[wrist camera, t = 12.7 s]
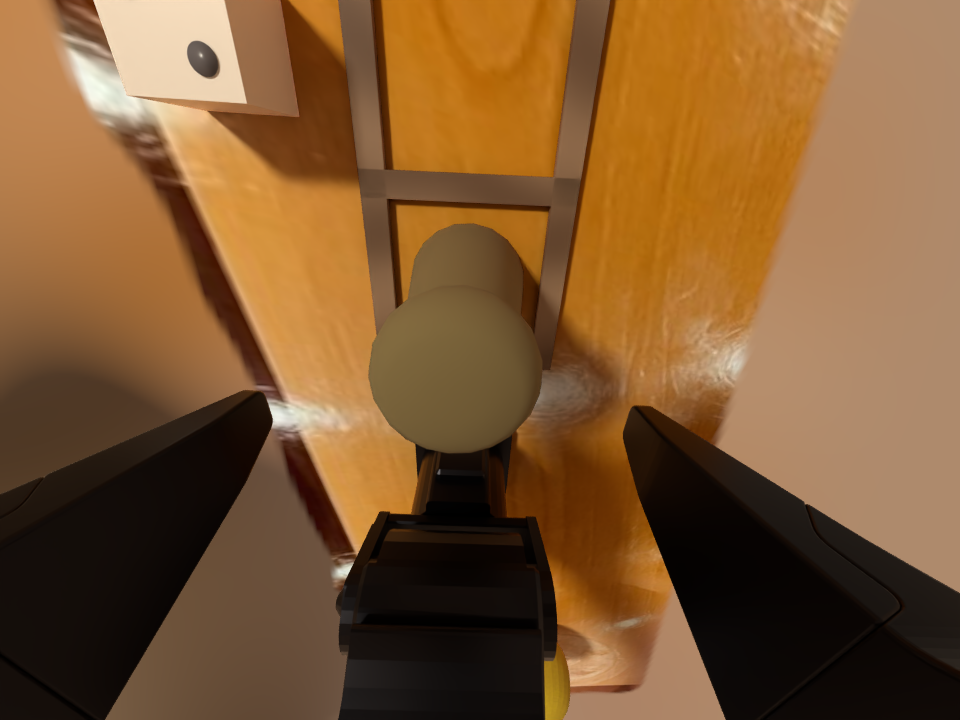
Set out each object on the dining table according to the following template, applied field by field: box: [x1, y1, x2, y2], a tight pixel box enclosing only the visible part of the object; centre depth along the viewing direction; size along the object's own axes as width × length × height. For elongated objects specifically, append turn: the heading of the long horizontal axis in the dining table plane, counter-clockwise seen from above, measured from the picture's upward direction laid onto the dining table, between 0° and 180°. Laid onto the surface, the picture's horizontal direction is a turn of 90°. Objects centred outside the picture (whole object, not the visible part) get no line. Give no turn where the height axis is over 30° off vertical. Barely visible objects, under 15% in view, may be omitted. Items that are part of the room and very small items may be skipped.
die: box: [94, 0, 299, 117], centre depth 13 cm, size 4×4×4 cm
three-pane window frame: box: [338, 0, 610, 370], centre depth 14 cm, size 28×10×1 cm, turn 178°
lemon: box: [544, 643, 570, 720], centre depth 34 cm, size 6×6×8 cm
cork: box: [369, 224, 543, 453], centre depth 14 cm, size 6×6×11 cm
